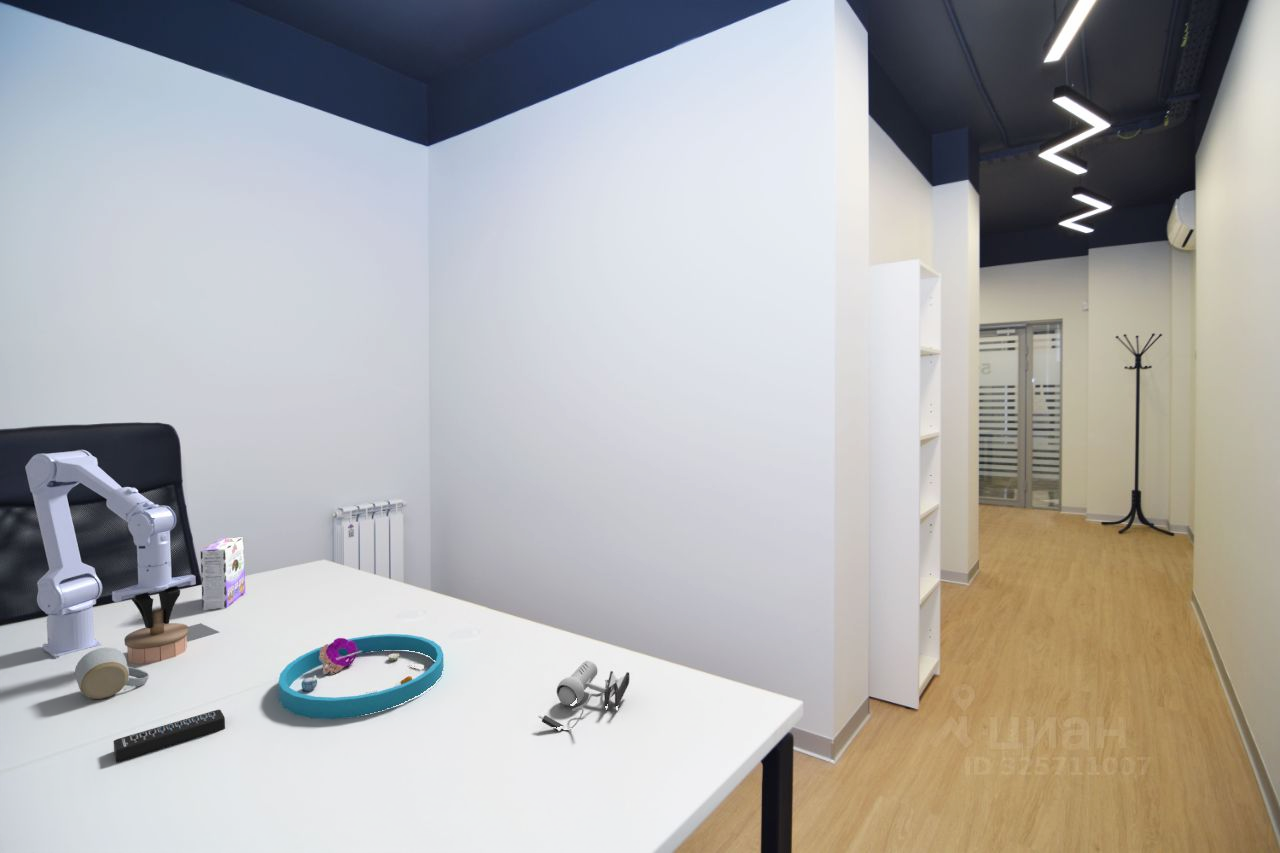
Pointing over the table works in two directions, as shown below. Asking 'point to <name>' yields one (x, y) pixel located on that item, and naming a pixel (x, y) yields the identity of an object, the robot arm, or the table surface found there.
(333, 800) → the table surface
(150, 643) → the lid
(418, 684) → the teal ring
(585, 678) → the clip-on lamp
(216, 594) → the candy box
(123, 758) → the multiport hub
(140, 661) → the bowl
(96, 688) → the ceramic mug
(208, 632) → the mat
